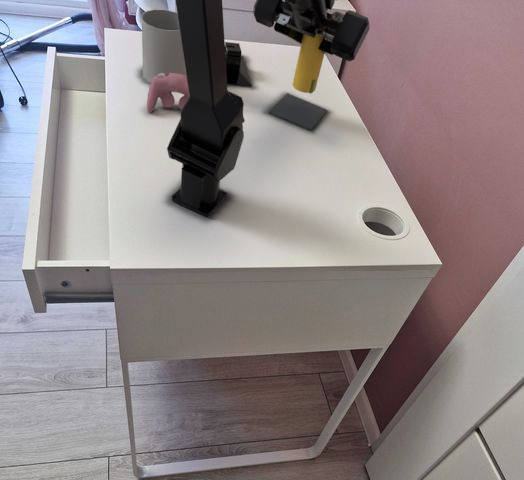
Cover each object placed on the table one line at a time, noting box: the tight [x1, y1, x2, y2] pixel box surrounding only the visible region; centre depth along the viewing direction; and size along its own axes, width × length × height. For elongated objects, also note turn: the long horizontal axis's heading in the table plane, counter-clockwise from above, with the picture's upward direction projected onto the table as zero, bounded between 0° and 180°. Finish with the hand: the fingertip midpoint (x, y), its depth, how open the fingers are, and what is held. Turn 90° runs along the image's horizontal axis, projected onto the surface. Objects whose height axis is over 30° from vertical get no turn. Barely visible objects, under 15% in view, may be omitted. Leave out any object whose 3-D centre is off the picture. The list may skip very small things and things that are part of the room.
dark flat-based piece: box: [225, 41, 253, 88], centre depth 101 cm, size 12×7×5 cm, turn 10°
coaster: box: [268, 92, 328, 132], centre depth 97 cm, size 9×9×1 cm
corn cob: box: [292, 34, 325, 94], centre depth 89 cm, size 5×4×12 cm
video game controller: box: [146, 73, 189, 113], centre depth 89 cm, size 10×5×7 cm, turn 84°
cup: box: [141, 9, 186, 84], centre depth 93 cm, size 8×8×10 cm
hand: (316, 47), depth 89 cm, fingers closed on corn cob, 4 cm apart
